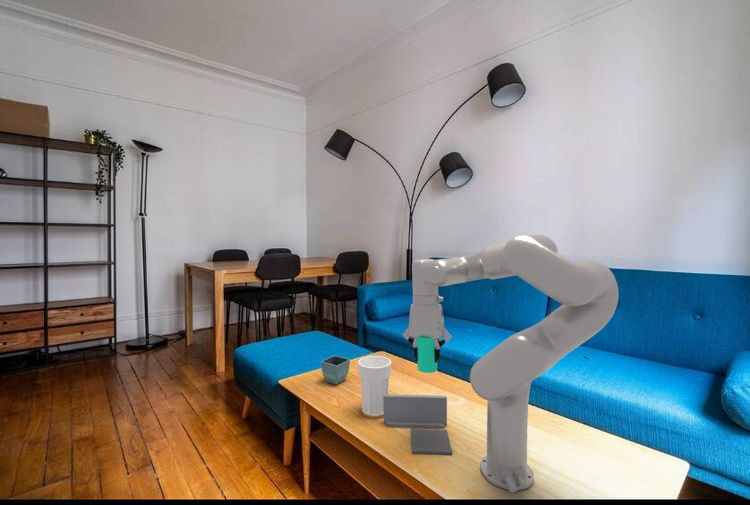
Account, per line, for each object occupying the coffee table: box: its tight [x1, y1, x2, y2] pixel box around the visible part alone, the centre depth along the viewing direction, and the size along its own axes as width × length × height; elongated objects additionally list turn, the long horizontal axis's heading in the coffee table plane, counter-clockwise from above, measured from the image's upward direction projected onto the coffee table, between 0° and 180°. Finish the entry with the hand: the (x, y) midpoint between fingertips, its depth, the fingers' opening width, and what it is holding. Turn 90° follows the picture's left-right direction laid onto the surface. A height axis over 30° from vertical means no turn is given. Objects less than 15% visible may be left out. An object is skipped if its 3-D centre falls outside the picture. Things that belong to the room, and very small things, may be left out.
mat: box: [410, 428, 453, 456], centre depth 102 cm, size 11×11×1 cm
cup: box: [357, 355, 392, 419], centre depth 119 cm, size 11×11×17 cm
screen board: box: [383, 393, 448, 430], centre depth 112 cm, size 5×20×9 cm, turn 86°
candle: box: [416, 336, 438, 374], centre depth 105 cm, size 6×6×12 cm
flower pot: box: [320, 355, 351, 385], centre depth 144 cm, size 9×9×9 cm
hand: (427, 359), depth 106 cm, fingers closed on candle, 4 cm apart
